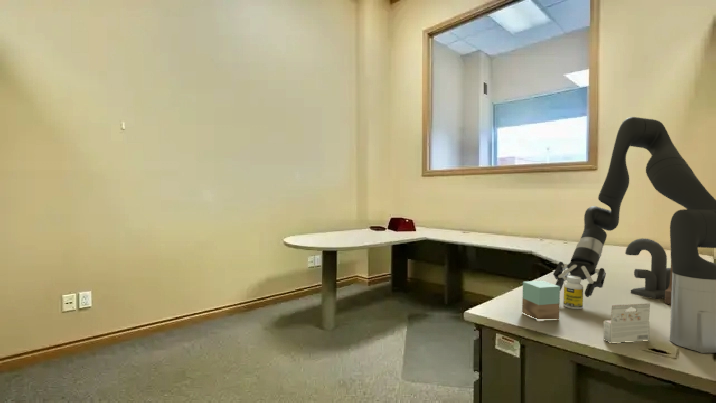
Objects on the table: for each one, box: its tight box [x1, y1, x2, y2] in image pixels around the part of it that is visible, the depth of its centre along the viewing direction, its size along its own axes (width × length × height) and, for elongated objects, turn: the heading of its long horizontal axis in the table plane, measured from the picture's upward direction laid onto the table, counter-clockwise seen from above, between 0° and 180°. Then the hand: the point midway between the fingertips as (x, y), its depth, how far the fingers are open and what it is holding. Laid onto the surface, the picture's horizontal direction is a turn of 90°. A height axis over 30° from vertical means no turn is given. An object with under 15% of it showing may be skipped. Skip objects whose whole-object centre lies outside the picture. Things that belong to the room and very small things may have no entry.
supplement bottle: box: [563, 276, 584, 310], centre depth 119 cm, size 5×5×10 cm
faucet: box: [624, 237, 671, 300], centre depth 139 cm, size 18×16×20 cm
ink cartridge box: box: [603, 302, 651, 342], centre depth 92 cm, size 2×11×10 cm, turn 99°
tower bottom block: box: [521, 297, 560, 320], centre depth 109 cm, size 7×7×5 cm
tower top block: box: [522, 280, 561, 305], centre depth 109 cm, size 7×7×5 cm
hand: (572, 292), depth 119 cm, fingers open, 8 cm apart
